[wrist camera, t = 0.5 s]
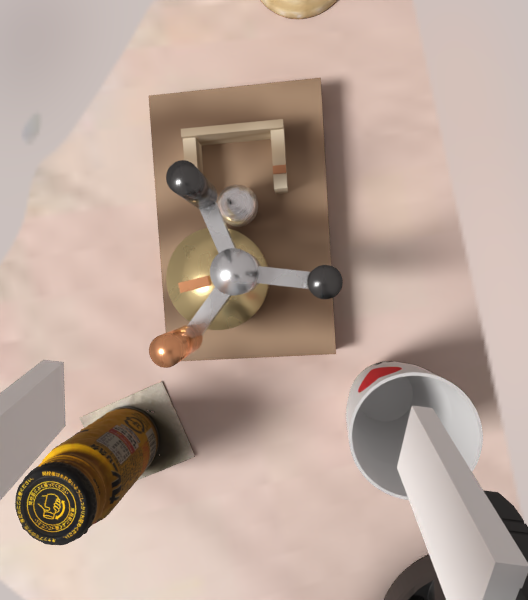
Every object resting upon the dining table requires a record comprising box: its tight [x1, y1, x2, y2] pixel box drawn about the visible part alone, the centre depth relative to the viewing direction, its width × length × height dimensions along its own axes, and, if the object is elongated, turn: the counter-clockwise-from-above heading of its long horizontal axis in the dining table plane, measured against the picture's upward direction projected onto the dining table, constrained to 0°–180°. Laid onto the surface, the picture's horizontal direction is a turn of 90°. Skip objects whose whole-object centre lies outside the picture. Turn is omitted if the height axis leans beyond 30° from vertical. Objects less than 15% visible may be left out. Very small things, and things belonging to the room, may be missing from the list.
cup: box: [346, 361, 483, 500], centre depth 31 cm, size 8×8×10 cm
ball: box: [217, 184, 258, 227], centre depth 33 cm, size 3×3×3 cm
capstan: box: [149, 160, 342, 368], centre depth 30 cm, size 13×12×10 cm
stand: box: [149, 78, 336, 361], centre depth 35 cm, size 22×14×4 cm, turn 4°
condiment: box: [15, 382, 195, 545], centre depth 33 cm, size 7×8×12 cm
